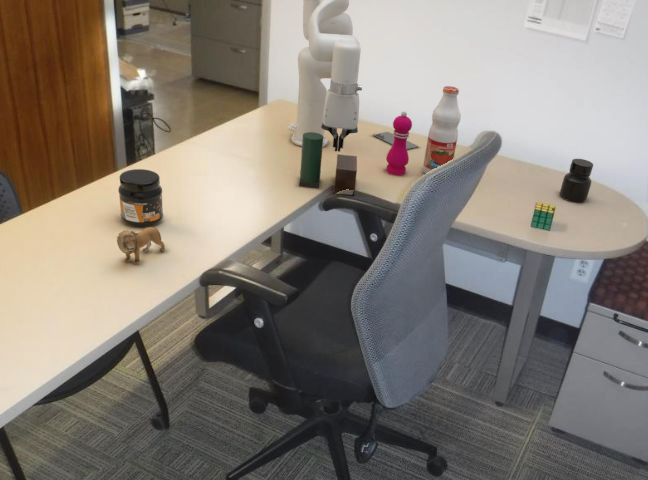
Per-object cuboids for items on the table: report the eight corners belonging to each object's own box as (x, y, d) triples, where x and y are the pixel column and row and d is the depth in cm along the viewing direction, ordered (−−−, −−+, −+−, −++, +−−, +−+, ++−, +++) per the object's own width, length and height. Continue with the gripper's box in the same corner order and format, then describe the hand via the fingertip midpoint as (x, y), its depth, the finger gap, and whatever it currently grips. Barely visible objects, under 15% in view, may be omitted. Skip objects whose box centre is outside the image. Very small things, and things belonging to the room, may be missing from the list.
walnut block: (333, 194, 214) (336, 168, 210) (335, 178, 224) (337, 154, 220) (353, 196, 214) (356, 170, 210) (354, 180, 224) (356, 156, 220)
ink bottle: (589, 197, 237) (600, 162, 230) (584, 205, 230) (595, 170, 223) (561, 189, 240) (570, 154, 233) (555, 197, 233) (564, 162, 226)
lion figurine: (132, 273, 163) (129, 238, 158) (112, 266, 165) (109, 231, 160) (170, 248, 175) (169, 214, 170) (152, 242, 176) (150, 208, 172)
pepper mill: (407, 169, 238) (416, 109, 227) (405, 177, 232) (415, 116, 221) (385, 166, 238) (393, 106, 227) (383, 174, 232) (392, 113, 221)
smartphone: (403, 149, 252) (372, 134, 261) (403, 151, 252) (372, 135, 261) (418, 146, 257) (387, 131, 266) (418, 147, 257) (387, 132, 266)
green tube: (303, 194, 217) (279, 148, 209) (304, 186, 222) (281, 141, 214) (341, 179, 215) (318, 131, 206) (341, 171, 220) (319, 124, 211)
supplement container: (125, 231, 180) (122, 186, 173) (117, 212, 187) (113, 169, 180) (168, 226, 184) (166, 183, 178) (158, 209, 192) (156, 166, 185)
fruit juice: (442, 166, 244) (457, 83, 229) (455, 177, 237) (471, 92, 221) (417, 168, 240) (431, 83, 225) (430, 179, 233) (444, 92, 218)
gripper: (369, 87, 206) (362, 148, 216) (317, 81, 205) (313, 142, 215) (369, 94, 200) (362, 157, 210) (316, 88, 199) (311, 151, 209)
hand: (337, 149), depth 213 cm, fingers closed
